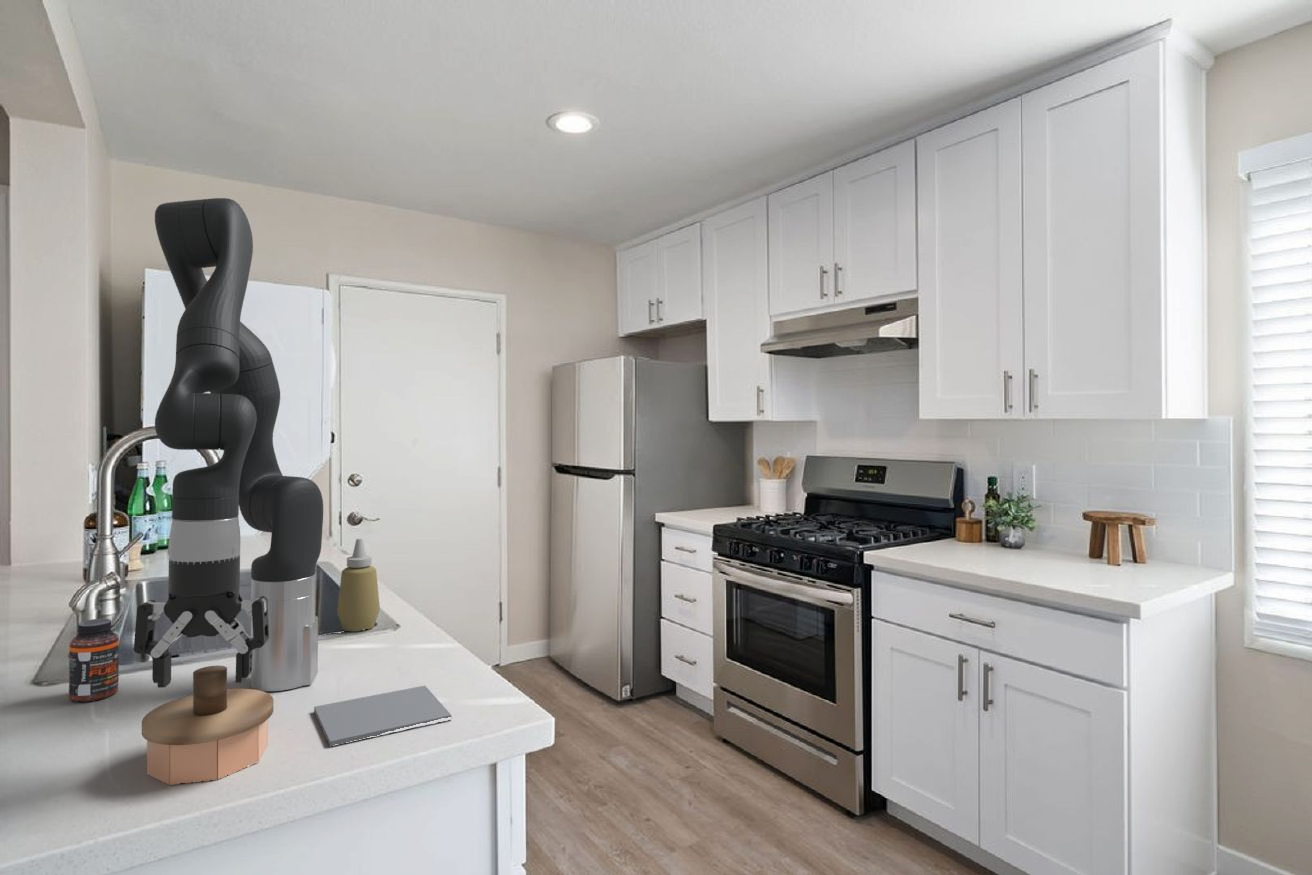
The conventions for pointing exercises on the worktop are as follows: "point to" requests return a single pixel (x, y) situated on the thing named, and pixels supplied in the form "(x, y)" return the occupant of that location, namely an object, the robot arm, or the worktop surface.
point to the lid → (207, 711)
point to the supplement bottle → (93, 661)
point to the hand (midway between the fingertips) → (203, 683)
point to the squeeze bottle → (358, 592)
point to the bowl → (206, 757)
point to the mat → (378, 714)
